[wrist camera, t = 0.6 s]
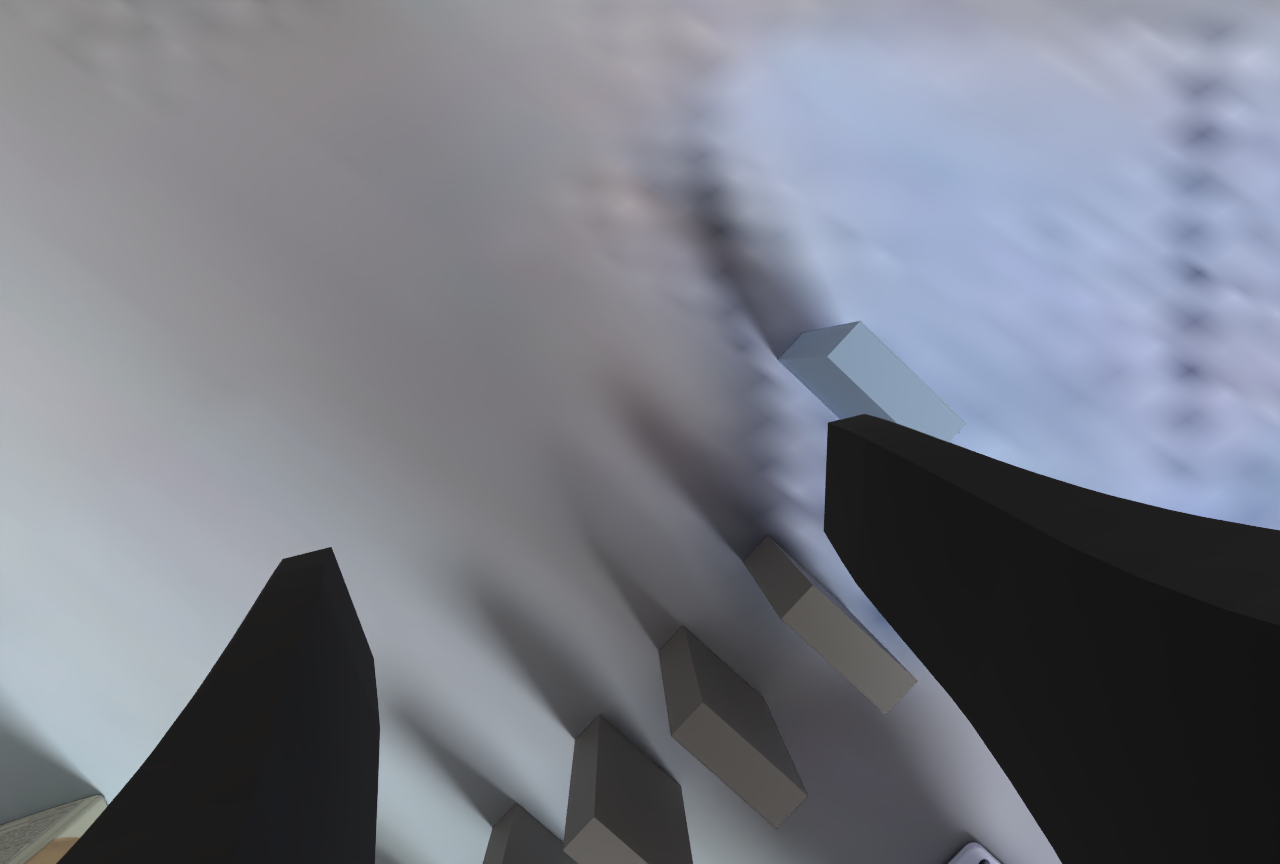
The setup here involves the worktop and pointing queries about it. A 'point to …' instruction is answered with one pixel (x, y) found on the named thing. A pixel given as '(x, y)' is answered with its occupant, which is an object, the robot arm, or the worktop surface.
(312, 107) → the worktop surface
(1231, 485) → the worktop surface
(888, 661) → the domino
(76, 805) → the skincare box
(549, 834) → the domino
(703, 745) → the domino
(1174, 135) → the worktop surface
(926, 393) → the domino
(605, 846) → the domino
